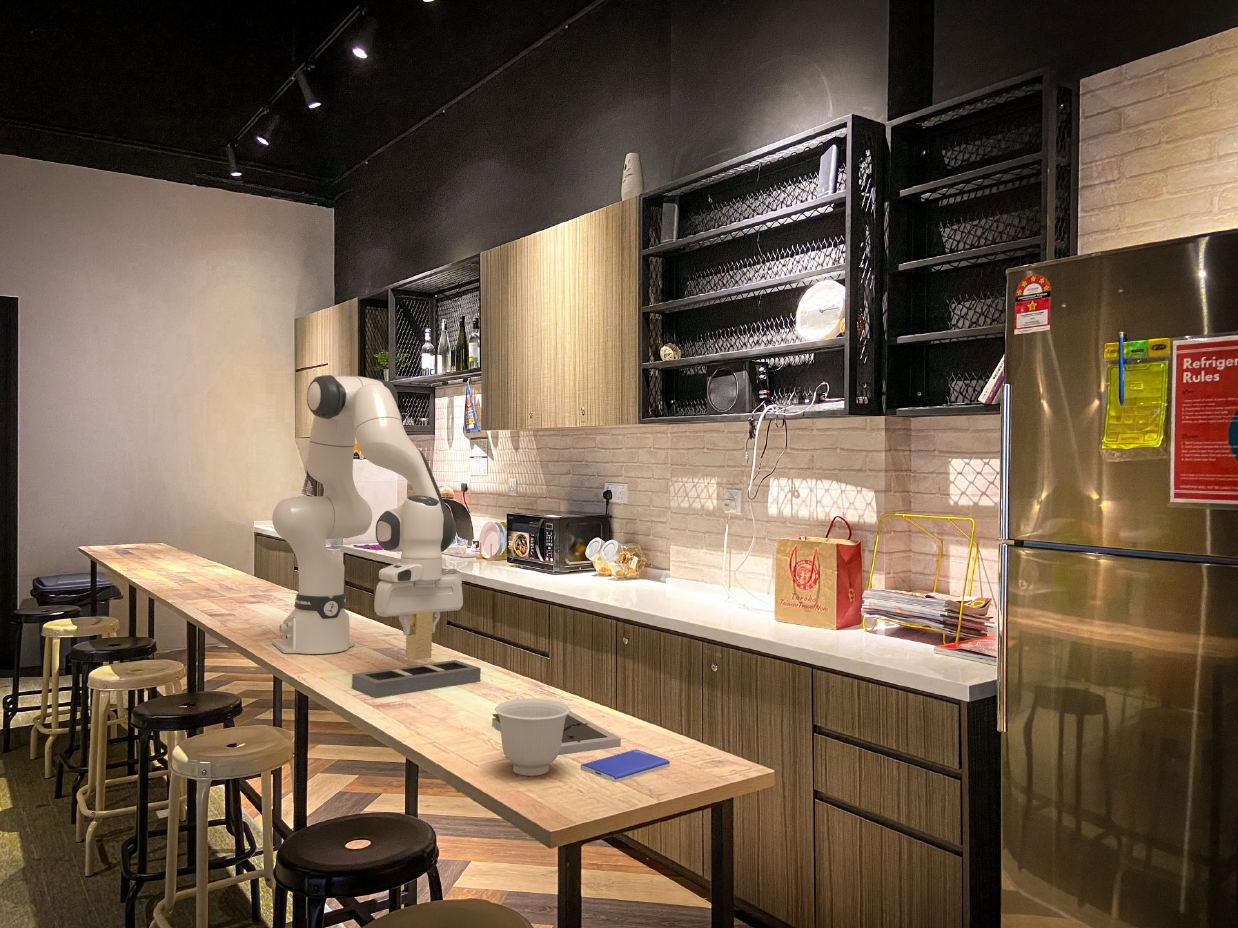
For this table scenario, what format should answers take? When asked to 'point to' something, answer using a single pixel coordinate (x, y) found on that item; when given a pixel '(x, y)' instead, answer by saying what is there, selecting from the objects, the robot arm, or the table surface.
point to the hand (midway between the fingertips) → (419, 633)
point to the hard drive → (625, 765)
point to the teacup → (531, 733)
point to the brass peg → (420, 636)
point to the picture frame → (579, 735)
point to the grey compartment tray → (415, 678)
